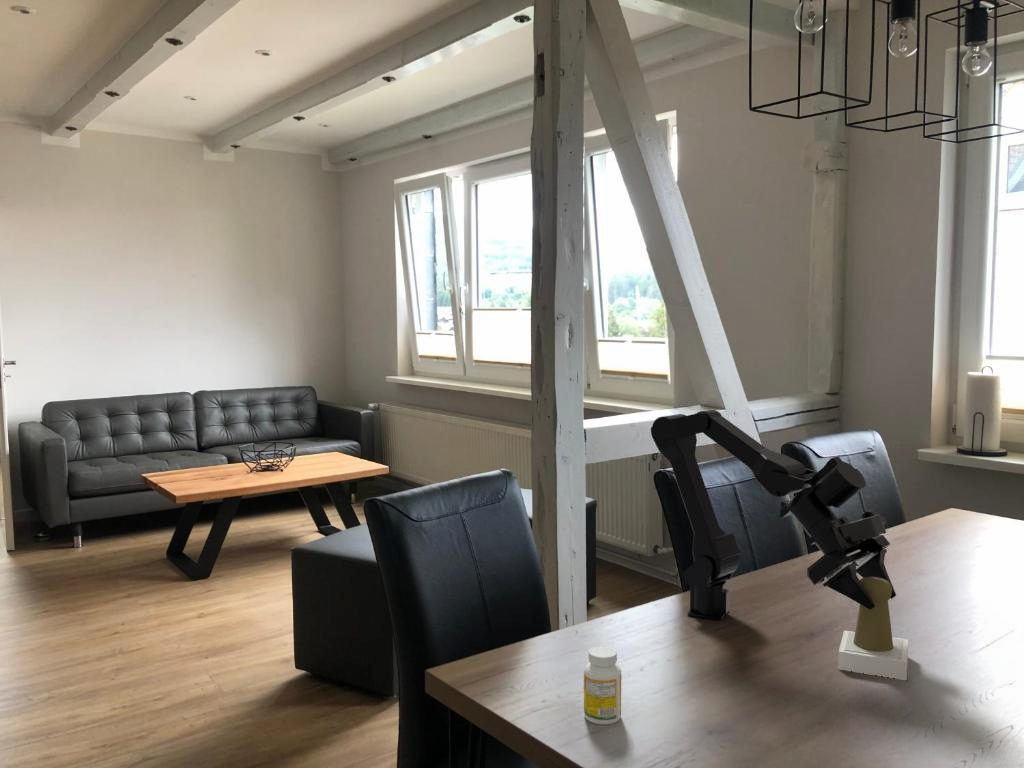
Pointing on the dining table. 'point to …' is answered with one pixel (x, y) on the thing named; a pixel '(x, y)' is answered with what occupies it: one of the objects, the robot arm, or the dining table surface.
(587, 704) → the supplement bottle
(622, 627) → the dining table surface
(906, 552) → the dining table surface
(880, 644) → the cork
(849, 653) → the tray
